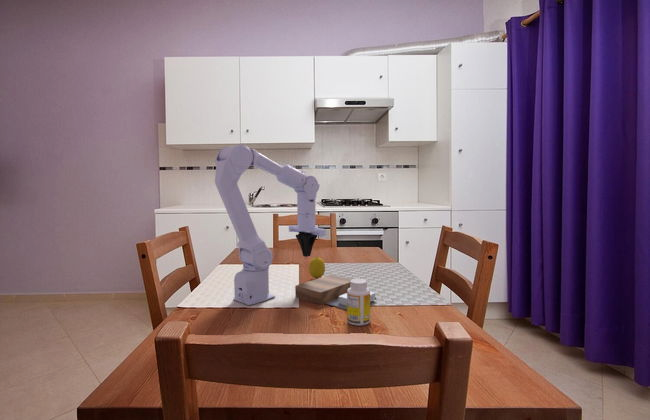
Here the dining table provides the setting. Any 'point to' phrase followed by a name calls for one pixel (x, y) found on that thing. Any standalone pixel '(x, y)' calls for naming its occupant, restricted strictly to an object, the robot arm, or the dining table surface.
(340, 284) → the block
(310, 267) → the lemon
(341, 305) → the mat
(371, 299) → the light grey block
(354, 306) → the supplement bottle
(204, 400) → the dining table surface
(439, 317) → the dining table surface
